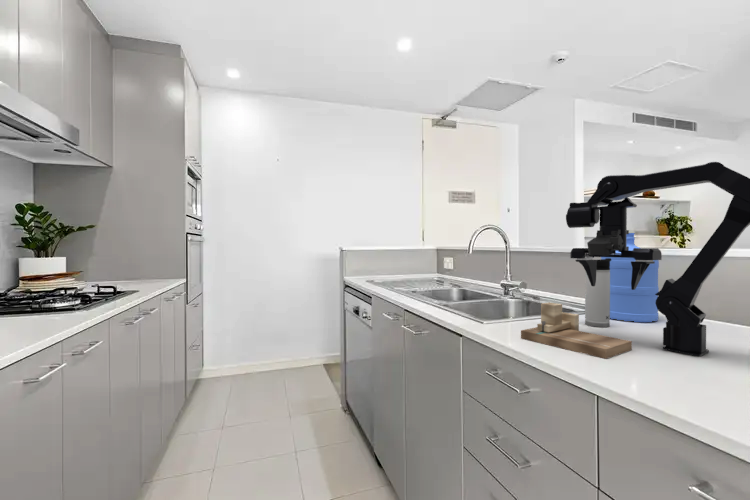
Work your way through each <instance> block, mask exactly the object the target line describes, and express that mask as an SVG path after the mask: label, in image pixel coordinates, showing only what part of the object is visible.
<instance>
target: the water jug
mask: <svg viewBox="0 0 750 500" xmlns="http://www.w3.org/2000/svg"><path fill="white" fill-rule="evenodd" d="M635 233H636V232H629V234H627V247H629V251H633V249H634V248H640V247H638V246H637V245H635ZM616 253H621V252H618V251H616ZM615 255H620V254H615ZM606 258H610V259H611V261H610V267H609V268H610V318H611V319H610V320H613V319H617V320H616V321H619V320H624V321H623V322H627V321H634V322H633V323H653V322H652V321H655V322H656V321H658V320H659V310H658V309H657V306H656V304H655V303H656V299H657V297H658V296H657V295H655V294H656V293H658V292H659V291H660V290H659V289H660V287H659V267H660V263H659V262H660V260H653V261H655V263H654V264H650V265H649V266H648V268H647V269H646V271H645V272H644V274H643V275H642V277H641V279H640V281H639V283H638V285H637V287H636V289H635V290H632V288H631V280H632V265H631V261H635V259H634V258H624V257H600V260H601V259H606Z"/></svg>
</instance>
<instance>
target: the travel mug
mask: <svg viewBox="0 0 750 500" xmlns="http://www.w3.org/2000/svg"><path fill="white" fill-rule="evenodd" d="M596 260H597V269H596V283H595V286H591V283H590V281H589V278H588V276H587V273H586V271H585V275H584V277H585V283H584V285H585V286H584V287H585V289H584V290H585V293H584V298H585V299H584V307H585V308H584V312H585V313H584V315H585V316H584V319H585V320H584V324H585V325H587V326H588V327H589V326H590V327H593V326H594V328H609V327H610V324H611V321H610V320H611V319H610V268H609V267H610V261H611V259H610V258H606V259H601V258H600V259H596Z"/></svg>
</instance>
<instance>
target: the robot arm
mask: <svg viewBox="0 0 750 500" xmlns="http://www.w3.org/2000/svg"><path fill="white" fill-rule="evenodd" d="M707 183H708V184H710V183H711V184H713V185H714V186H716V187H717V188H720V189H721V190H723V191H725V192H726V193H728V194H730V195H732V198H731V201H730V203H729V205H728V206H727V207H728V208H727V210H726V212H725V215H724V217H723V220H722V221H721V223H720V224H719V225H718V227H717V228H716V229H715V231H714V232H713V234H712V235H711V236H710V238H709V239H708V240H707V241H706V243H705V245H704V246H703V247H702V248H701V249H700V251H699V252H698V253H697V255H696V256H695V258H694V259H693V260H692V262H691V263H690V264H689V266H688V267H686V269H685V271H684V273H683V274H682V275H681V276H680V277H679V278H676V280H675V279H673V278H669V279H666V280H665V281H664V283H663V285H662V287H661V289H660V290H659V292H658V293H656V294H655V295H657V296H658V297H657V299H656V303H655V304H656V306H657V309H658V312H660V313H661V314H662V315H664V316H665V318H666V322H665V326H664V327H662V328H663V329H662V336H663V337H662V345H663V347H662V350H664V351H665V350H666V351H669V352H673V353H674V352H675V353H681V354H683V355H684V354H685V355H690V356H695V357H702V356H704V355H706V354H708V353H710V349H707V325H706V324H702V323H703V321H704V320H705V319H706V316H707V314H706V313H705V312H704V311H702V309H701V308H699V307H698V306H697V305H696V304H695V302H696V301H697V298H698V296H699V295H700V291H701V289H702V286H703V284H704V283H705V281H706V280H707V279H708V277H709V276H710V275H711V273H712V272H713V271H714V270H715V268H717V266H718V264H719V263H720V262H721V260H722V259H724V257H725V256H726V255H727V253H728V251H730V250H731V248H732V247H733V245H734V244H735V243H736V241H737V240H738V239H739V238H740V236H741V235H742V233H744V231H745V230H746V229H747V228H748V227H749V226H750V178H749V177H748V176H745V175H744V174H742V173H739V172H738V171H735V170H733V169H731V168H728V167H727V166H725V165H724V164H723V163H721V162H720V161H719V162H718V161H710V162H707V163H704V164H699V165H693V166H687V167H680V168H675V169H670V170H665V171H658V172H653V173H646V174H639V175H636V174H635V175H634V174H616V175H615V174H613V175H612V174H611V175H605V176H604V177H602V178H601V179H600V180H599V182H598V184H597V186H596V190H595V191H594V193H593V194H592V195H591V196H590V197H589V199H587V202H585V201H584V202H570V203H569V207H568V208H567V212H566V214H565V221H566V226H567V227H568V228H569V229H575V228H576V229H577V228H594V227H595V226H596V224H598V223H599V230H596V237H593V238H592V239H591V240H589V241H588V242H587V243H586V244H587V247H583V248H582V247H573V248H572V249H571V251H570V255H569V256H570V257H569V259H575V261H574V262H577V263H579V264H581V266H582V267H583V269H584V271H585V272H586V273H587V276H588V278H589V281H590V283H591V286H595V283H596V269H597V260H598V259H594V258H601V257H624V258H634V259H635V261H631V265H632V280H631V288H632V290H635V289H636V287H637V285H638V283H639V281H640V279H641V277H642V275H643V274H644V272H645V271H646V269H647V268H648V266H649V265H650V264H654V263H655V261H653V260H658V261H662V255H663V253H662V251H661V249H659V248H658V247H655V248H652V247H651V248H650V247H646V248H645V247H644V248H642V247H639V248H634V249H633V251H629V247H627V234H629V233H630V232H629V231H630V230H627V223H628V221H627V219H628V217H627V215H628V214H627V213H628V211H627V210H628V209H632V208H637V206H638V205H637V204H636V203H634V201H632V200H631V199H630V198H631V197H634V196H636V195H640V194H642V193H646V192H652V191H658V190H665V189H673V188H679V187H687V186H693V185H699V184H701V185H702V184H707ZM616 251H618V252H621V253H616ZM615 254H620V255H615Z"/></svg>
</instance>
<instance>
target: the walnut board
mask: <svg viewBox="0 0 750 500" xmlns="http://www.w3.org/2000/svg"><path fill="white" fill-rule="evenodd" d="M520 339H522V340H527V341H530V342H531V341H532V342H535V343H539V344H544V345H546V346H547V345H548V346H551V347H555V348H560V349H563V350H568V351H572V352H576V353H580V354H584V355H589V356H593V357H597V358H600V359H601V358H602V359H604V360H605V359H606V360H607V359H609V358H612V357H616V356H618V355H621V354H624V353H627V352H630V351H632V350H633V349H632V346H633V344H632V343H633V341H632V340H629V339H623V338H618V337H612V336H607V335H602V334H597V333H592V332H586V331H581V330H579V331H577V330H572V329H562V330H558V331H553V332H544V331H539V330H537V326H536V327H532V328H527V329H522V330H520Z"/></svg>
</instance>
